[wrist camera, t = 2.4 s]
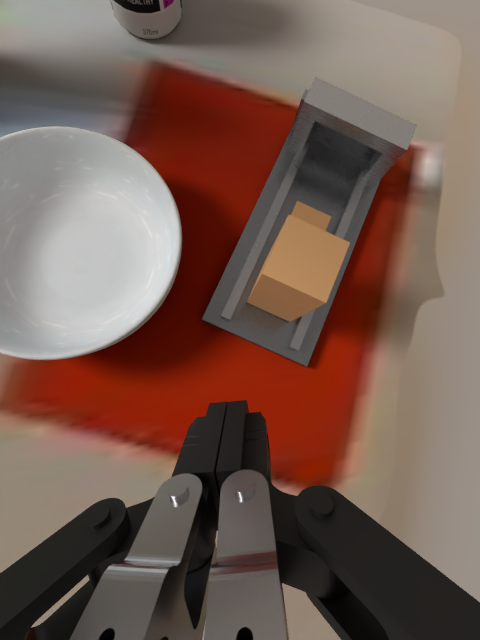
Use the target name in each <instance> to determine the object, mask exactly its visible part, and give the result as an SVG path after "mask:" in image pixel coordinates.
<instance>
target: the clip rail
mask: <svg viewBox="0 0 480 640" xmlns="http://www.w3.org/2000/svg"><path fill="white" fill-rule="evenodd" d="M416 126H417V125H415V124H413V123H411V122H409V121H407V120H405V119H403V118H400V117H398V116H396V115H394V114H392V113H390V112H388V111H386V110H384V109H382V108H379V107H377V106H375V105H373V104H371V103H369V102H367V101H365V100H363V99H360V98H358V97H356V96H354V95H352V94H350V93H348V92H346V91H344V90H342V89H339V88H337V87H335V86H333V85H331V84H329V83H327V82H325V81H323V80H320V79H318V78H316V77H315V79H314V81H313V83H312V86H311V88H310V90H309V91H308V90H305V92H304V94H303V97H302V99H301V102H300V105H299V108H298V111H297V114H296V117H295V120H294V123H293V126H292V129H291V131H290V133H289V135H288V137H287V139H286V142H285V144H284V146H283V148H282V150H281V152H280V154H279V156H278V159H277V161H276V163H275V165H274V167H273V169H272V171H271V173H270V176H269V178H268V180H267V182H266V184H265V186H264V188H263V190H262V192H261V195H260V197H259V199H258V201H257V203H256V205H255V207H254V209H253V212H252V214H251V216H250V218H249V220H248V222H247V224H246V226H245V229H244V231H243V233H242V235H241V237H240V239H239V241H238V243H237V245H236V248H235V250H234V252H233V254H232V256H231V258H230V260H229V262H228V265H227V267H226V269H225V271H224V273H223V275H222V277H221V279H220V282H219V284H218V286H217V288H216V290H215V292H214V294H213V296H212V299H211V301H210V303H209V305H208V307H207V309H206V311H205V313H204V315H203V318H202V321H204V322H206V323H208V324H211V325H213V326H215V327H217V328H220V329H222V330H224V331H226V332H228V333H231V334H233V335H235V336H237V337H240V338H242V339H244V340H246V341H248V342H251V343H253V344H255V345H257V346H260V347H262V348H264V349H266V350H268V351H271V352H273V353H275V354H277V355H280V356H282V357H284V358H286V359H288V360H291V361H293V362H295V363H297V364H300V365H302V366H308V363H309V361H310V358H311V355H312V353H313V350H314V348H315V345H316V343H317V340H318V338H319V335H320V333H321V330H322V327H323V325H324V322H325V320H326V317H327V315H328V312H329V310H330V307H331V305H332V302H333V300H334V297H335V294H336V292H337V289H338V287H339V284H340V282H341V279H342V277H343V274H344V272H345V269H346V266H347V264H348V261H349V259H350V256H351V254H352V251H353V249H354V246H355V244H356V241H357V238H358V236H359V233H360V231H361V228H362V226H363V223H364V221H365V218H366V216H367V213H368V210H369V208H370V205H371V203H372V200H373V198H374V195H375V193H376V190H377V188H378V185H379V182H380V180H381V178H382V177H383V176H384V175H385V174H386V173H387V172H388V171H389V170H390V168H391V167H392V166H393V165H394V164H395V163H396V162H397V161H398V160H399V159H400V157H401V156H402V155H403V154H404V153H405V152H406V151H407V149H408V147H409V144H410V141H411V139H412V136H413V134H414V131H415V128H416ZM297 201H299V202H301V203H303V204H305V205H308V206H310V207H312V208H314V209H316V210H318V211H320V212H323V213H325V214H327V215H329V216H331V219H330V221H329V224H328V226H327V229H326V232H328V233H331V234H333V235H335V236H337V237H339V238H341V239H343V240H346V241H348V242H350V244H349V247H348V249H347V252H346V254H345V257H344V260H343V262H342V265H341V267H340V270H339V272H338V275H337V277H336V280H335V282H334V285H333V287H332V290H331V292H330V295H329V297H328V300H327V302H326V303H325V304H323V305H321V306H319V307H318V308H316V309H314V310H312V311H310V312H308V313H306V314H304V315H302V316H300V317H299V318H297V319H295V320H293V321H291V322H289V321H287V320H284V319H282V318H280V317H278V316H276V315H273V314H271V313H269V312H267V311H265V310H262V309H260V308H258V307H256V306H254V305H251V304H249V303H247V300H248V298H249V296H250V293H251V291H252V289H253V287H254V285H255V282H256V280H257V278H258V276H259V273H260V271H261V269H262V267H263V264H264V262H265V260H266V258H267V256H268V254H269V252H270V250H271V248H272V246H273V244H274V242H275V240H276V238H277V236H278V234H279V232H280V230H281V228H282V226H283V225H284V223H285V221H286V219H287V217H288V215H291V213H292V211H293V208H294V206H295V205H296V203H297Z"/></svg>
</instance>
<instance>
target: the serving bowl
mask: <svg viewBox="0 0 480 640" xmlns="http://www.w3.org/2000/svg"><path fill="white" fill-rule="evenodd" d="M181 251H182V227H181V221H180V216H179V212H178V209H177V205H176V203H175V200H174V198H173V195H172V194H171V192H170V190H169V188H168V186H167V184H166V183H165V181H164V180H163V178H162V177H161V176H160V174H159V173H158V172H157V171H156V169H155V168H154V167H153V166H152V165H151V164H150V163H149V162H148V161H147V160H146V159H145V158H144V157H142V156H141V155H140V154H139V153H137V152H136V151H135V150H133V149H132V148H130V147H129V146H127V145H126V144H124V143H122V142H120V141H118V140H116V139H114V138H112V137H109V136H107V135H104V134H101V133H98V132H94V131H91V130H86V129H81V128H74V127H63V126H49V127H38V128H31V129H26V130H22V131H18V132H14V133H11V134H8V135H5V136H3V137H0V353H1V354H4V355H8V356H12V357H17V358H24V359H31V360H58V359H67V358H73V357H78V356H82V355H86V354H90V353H93V352H96V351H99V350H102V349H104V348H107V347H109V346H111V345H114V344H116V343H118V342H119V341H121V340H123V339H125V338H126V337H128V336H129V335H131V334H132V333H134V332H135V331H136V330H138V329H139V328H140V327H141V326H142V325H144V324H145V323H146V322H147V321H148V320H149V319H150V318H151V317H152V316H153V315H154V313H155V312H156V311H157V310H158V309H159V307H160V306H161V305H162V303H163V302H164V300H165V298H166V297H167V295H168V293H169V292H170V290H171V287H172V285H173V283H174V281H175V278H176V275H177V272H178V268H179V263H180V258H181Z"/></svg>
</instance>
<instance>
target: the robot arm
mask: <svg viewBox="0 0 480 640" xmlns="http://www.w3.org/2000/svg"><path fill="white" fill-rule="evenodd" d="M217 530H218V540H217V547H216V543H215V538H216V531H217ZM87 575H88V576H89V579H90V580H89V581H88V582H87V583H86V584H85V585H84V586H83V587H82V588H80V589H79V590H78V591H77V592H76V593H75V594H74V595H73V596H72V597H71V598H70V599H68V600H67V601H66V602H65V603H64V604H63V605H62V606H61V607H60V608H59V609H57V610H56V611H55V612H54V613H53V614H52V615H51V616H50V617H49V618H48V619H47V620H45V621H44V622H43V623H41V624H40V625H38V626H36V627H32V628H30V627H31V626H32V625H33V624H34V623H35V622H36V621H37V620H38V619H39V618H40V617H41V616H42V615H43V614H44V613H45V612H46V611H48V610H49V609H50V608H51V607H52V606H53V605H54V604H55V603H56V602H58V601H59V600H60V599H61V598H62V597H63V596H64V595H65V594H67V593H68V592H69V591H70V590H71V589H72V588H73V587H74V586H75V585H77V584H78V583H79V582H80V581H81V580H82V579H83V578H84V577H86V576H87ZM282 583H284V584H286V585H289V586H292V587H294V588H297V589H299V590H302V591H304V592H306V594H307V596H308V598H309V599H310V600H311V602H312V603H313V604H314V606H315V607H316V608H317V609H318V611H319V612H320V613H321V614H322V616H323V617H324V618H325V619H326V621H327V622H328V623H329V624H330V626H331V627H332V628H333V629H334V631H335V632H336V633H337V635H338V636H339V637H340V638H341V640H480V602H478V601H477V600H476V599H475V598H473V597H472V596H471V595H469V594H468V593H467V592H466V591H464V590H463V589H462V588H460V587H459V586H458V585H457V584H455V583H454V582H452V581H451V580H450V579H449V578H448V577H446V576H445V575H444V574H443V573H441V572H440V571H439V570H437V569H436V568H435V567H434V566H432V565H431V564H430V563H428V562H427V561H426V560H424V559H423V558H422V557H420V555H418V554H417V553H416V552H414V551H413V550H412V549H410V548H409V547H408V546H407V545H405V544H404V543H403V542H401V541H400V540H399V539H398V538H396V537H395V536H394V535H393V534H391V533H390V532H389V531H387V530H386V529H385V528H384V527H382V526H381V525H380V524H379V523H377V522H376V521H375V520H373V519H372V518H371V517H370V516H368V515H367V514H366V513H364V512H363V511H362V510H361V509H359V508H358V507H357V506H355V505H354V504H353V503H352V502H350V501H349V500H348V499H346V498H345V497H344V496H343V495H341V494H340V493H339V492H337V491H336V490H334V489H332V488H329V487H326V486H312V487H308V488H306V489H304V490H303V491H302V492H301V493H300V494H299V495H298V496H294V495H290V494H287V493H284V492H282V491H280V490H278V489H277V488H276V487H274V486H273V485H272V483H271V464H270V448H269V441H268V434H267V426H266V420H265V418H264V417H263V416H262V414H261V413H260V412H255V413H249V410H248V404H247V401H246V400H244V401H233V402H220V403H210V404H209V407H208V410H207V414H206V417H197V418H196V419H195V420H194V422H193V423H192V424H191V425H190V426H189V429H188V432H187V435H186V438H185V440H184V443H183V446H182V449H181V452H180V455H179V457H178V460H177V463H176V466H175V469H174V472H173V475H172V477H171V478H170V479H168V480H167V481H166V482H164V483H163V484H162V485H161V487H160V488H159V489H158V491H157V493H156V495H155V497H154V498H152V499H150V500H147V501H145V502H142V503H139V504H136V505H134V506H131V507H128V508H126V507H125V504H124V503H123V501H121V500H120V499H117V498H108V499H104V500H101V501H99V502H97V503H95V504H93V505H92V506H90V507H89V508H88V509H86V510H85V511H84V512H82V513H81V514H80V515H78V516H77V517H76V518H74V519H73V520H72V521H70V522H69V523H68V524H66V525H65V526H64V527H62V528H61V529H59V530H58V531H57V532H55V533H54V534H53V535H51V536H50V537H49V538H47V539H46V540H45V541H43V542H42V543H41V544H39V545H38V546H37V547H35V548H34V549H33V550H31V551H30V552H29V553H27V554H26V555H25V556H23V557H22V558H20V559H19V560H18V561H16V562H15V563H14V564H12V565H11V566H10V567H8V568H7V569H6V570H4V571H3V572H2V573H0V640H202V637H203V631H204V625H205V636H204V640H289V634H288V627H287V619H286V611H285V603H284V595H283V588H282ZM205 620H206V623H205Z"/></svg>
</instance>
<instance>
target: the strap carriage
mask: <svg viewBox="0 0 480 640" xmlns="http://www.w3.org/2000/svg"><path fill="white" fill-rule="evenodd" d="M330 219H331V216H329V215H327V214H325V213H323V212H320V211H318V210H316V209H314V208H312V207H310V206H308V205H305V204H303V203H301V202H299V201H297V203H296V205H295V206H294V208H293V211H292V213H291V215H288V217H287V219H286V221H285V223H284V225H283V226H282V228H281V230H280V232H279V234H278V236H277V238H276V240H275V242H274V244H273V246H272V248H271V250H270V252H269V254H268V256H267V258H266V260H265V262H264V264H263V267H262V269H261V271H260V273H259V276H258V278H257V280H256V282H255V285H254V287H253V289H252V291H251V293H250V296H249V298H248V300H247V303H249V304H251V305H254V306H256V307H258V308H260V309H262V310H265V311H267V312H269V313H271V314H273V315H276V316H278V317H280V318H282V319H284V320H287V321H289V322H291V321H293V320H295V319H297V318H299V317H300V316H302V315H304V314H306V313H308V312H310V311H312V310H314V309H316V308H318V307H319V306H321V305H323V304H325V303H326V302H327V300H328V297H329V295H330V292H331V290H332V287H333V285H334V282H335V280H336V277H337V275H338V272H339V270H340V267H341V265H342V262H343V260H344V257H345V254H346V252H347V249H348V247H349V244H350V242H348V241H346V240H343V239H341V238H339V237H337V236H335V235H333V234H331V233H328V232H326V229H327V226H328V224H329V221H330Z"/></svg>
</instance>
